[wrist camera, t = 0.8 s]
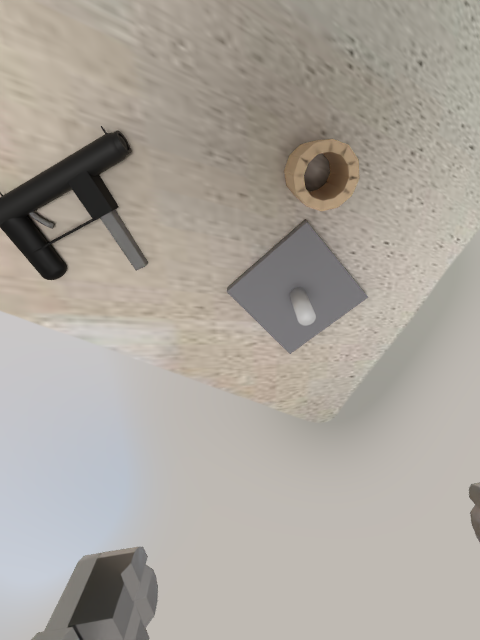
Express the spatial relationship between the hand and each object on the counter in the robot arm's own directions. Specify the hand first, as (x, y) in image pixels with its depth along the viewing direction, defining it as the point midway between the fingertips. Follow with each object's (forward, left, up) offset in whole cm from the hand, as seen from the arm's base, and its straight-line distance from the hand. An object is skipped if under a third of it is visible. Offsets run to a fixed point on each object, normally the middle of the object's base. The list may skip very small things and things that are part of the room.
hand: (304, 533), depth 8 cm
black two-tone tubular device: (+16, -15, -40) cm, 45 cm away
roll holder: (+2, +11, -39) cm, 41 cm away
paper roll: (-9, 0, -39) cm, 40 cm away
